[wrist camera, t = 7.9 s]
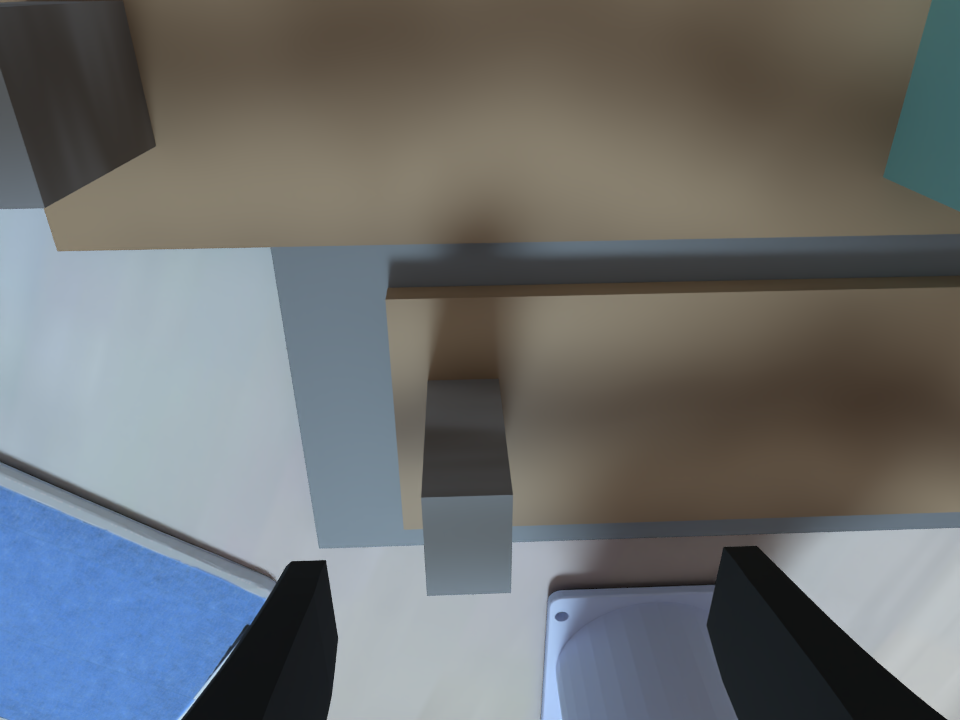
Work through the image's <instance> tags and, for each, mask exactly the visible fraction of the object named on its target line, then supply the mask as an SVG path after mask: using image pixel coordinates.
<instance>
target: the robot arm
mask: <svg viewBox="0 0 960 720" xmlns="http://www.w3.org/2000/svg"><path fill="white" fill-rule="evenodd" d="M558 612H563V613H558ZM337 644H338V635H337V629H336V622H335V616H334V609H333V603H332V597H331V590H330V584H329V577H328V571H327V565H326V560H319V561H292V562H290V563H289V564H288V565H287V566H286V568H285V569H284V571H283V573H282V574H281V576H280V578H279V580H278V581H277V583H276V585H275V586H274V588H273V590H272V591H271V593H270V595H269V596H268V598H267V600H266V601H265V603H264V604H263V606H262V608H261V609H260V611H259V612H258V614H257V615H256V617H255V618H254V620H253V621H252V623H251V625H250V626H249V628H248V629H247V631H246V632H245V633H244V635H243V636H242V638H241V639H240V641H239V642H238V644H237V645H236V646H235V648H234V649H233V651H232V652H231V654H230V655H229V657H228V658H227V659H226V661H225V662H224V664H223V665H222V667H221V668H220V669H219V671H218V672H217V673H216V675H215V676H214V677H213V679H212V680H211V681H210V683H209V684H208V685H207V687H206V688H205V689H204V690H203V692H202V693H201V694H200V696H199V697H198V698H197V700H196V701H195V702H194V704H193V705H192V706H191V707H190V709H189V710H188V711H187V713H186V714H185V715H184V716H183V718H182V719H181V720H327V716H328V711H329V706H330V701H331V697H332V689H333V680H334V672H335V663H336V653H337ZM541 720H947V719H946V718H944V717H943V716H942V715H940V714H939V713H938V712H937V711H935V710H934V709H933V708H931V707H930V706H929V705H928V704H927V703H925V702H924V701H923V700H922V699H920V698H919V697H918V696H917V695H915V694H914V693H913V692H912V691H911V690H909V689H908V688H907V687H906V686H905V685H904V684H902V683H901V682H900V681H899V680H898V679H897V678H895V677H894V676H893V675H892V674H891V673H890V672H888V671H887V670H886V669H885V668H884V667H883V666H881V665H880V664H879V663H878V662H877V661H876V660H875V659H873V658H872V657H871V656H870V655H869V654H868V653H867V652H866V651H865V650H863V649H862V648H861V647H860V646H859V645H858V644H857V643H856V642H855V641H854V640H853V639H852V638H850V637H849V636H848V635H847V634H846V633H845V632H844V631H843V630H842V629H841V628H840V627H839V626H838V625H837V624H836V623H834V622H833V621H832V620H831V619H830V618H829V617H828V616H827V615H826V614H825V613H824V612H823V611H822V610H821V609H820V608H819V607H818V606H817V605H816V604H815V603H814V602H813V601H812V600H811V599H810V598H809V597H808V596H807V595H806V594H805V593H804V592H803V591H802V590H801V589H800V588H799V587H798V586H797V585H796V584H795V583H794V582H793V581H792V580H791V579H790V578H789V577H788V576H787V575H786V574H785V573H784V572H783V571H782V570H781V569H780V568H779V567H777V566H776V565H775V564H774V563H773V562H772V561H771V560H770V559H769V558H768V557H767V556H766V555H765V554H764V553H763V552H762V551H761V550H760V549H759V548H758V547H757V546H742V547H724V548H723V552H722V557H721V561H720V566H719V570H718V575H717V579H716V584H715V585H697V586H669V587H640V588H611V589H583V590H560V591H556V592H554V593H552V594H551V595H550V596H549V598H548V606H547V623H546V640H545V657H544V674H543V691H542V708H541Z"/></svg>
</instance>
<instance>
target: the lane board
mask: <svg viewBox="0 0 960 720" xmlns="http://www.w3.org/2000/svg"><path fill="white" fill-rule="evenodd" d="M271 253H272V259H273V265H274V271H275V278H276V284H277V290H278V296H279V302H280V309H281V315H282V321H283V327H284V333H285V340H286V346H287V352H288V358H289V364H290V371H291V377H292V383H293V389H294V395H295V401H296V408H297V414H298V420H299V426H300V432H301V439H302V445H303V451H304V457H305V463H306V470H307V476H308V482H309V488H310V494H311V501H312V507H313V513H314V519H315V525H316V532H317V538H318V544H319V548H350V547H381V546H411V545H424V537H423V529H412V530H404V527H403V514H402V502H401V489H400V477H399V464H398V452H397V439H396V427H395V414H394V402H393V389H392V377H391V364H390V352H389V339H388V326H387V314H386V301H385V299H386V294H387V289H388V288H399V287H447V286H494V285H542V284H589V283H637V282H684V281H731V280H779V279H826V278H874V277H921V276H960V234H929V235H877V236H825V237H772V238H720V239H668V240H616V241H564V242H512V243H459V244H407V245H355V246H303V247H271ZM933 528H960V512H945V513H913V514H882V515H851V516H819V517H788V518H757V519H725V520H694V521H663V522H631V523H600V524H568V525H537V526H512V542H534V541H565V540H595V539H626V538H657V537H687V536H718V535H749V534H779V533H810V532H841V531H871V530H902V529H933Z"/></svg>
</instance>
